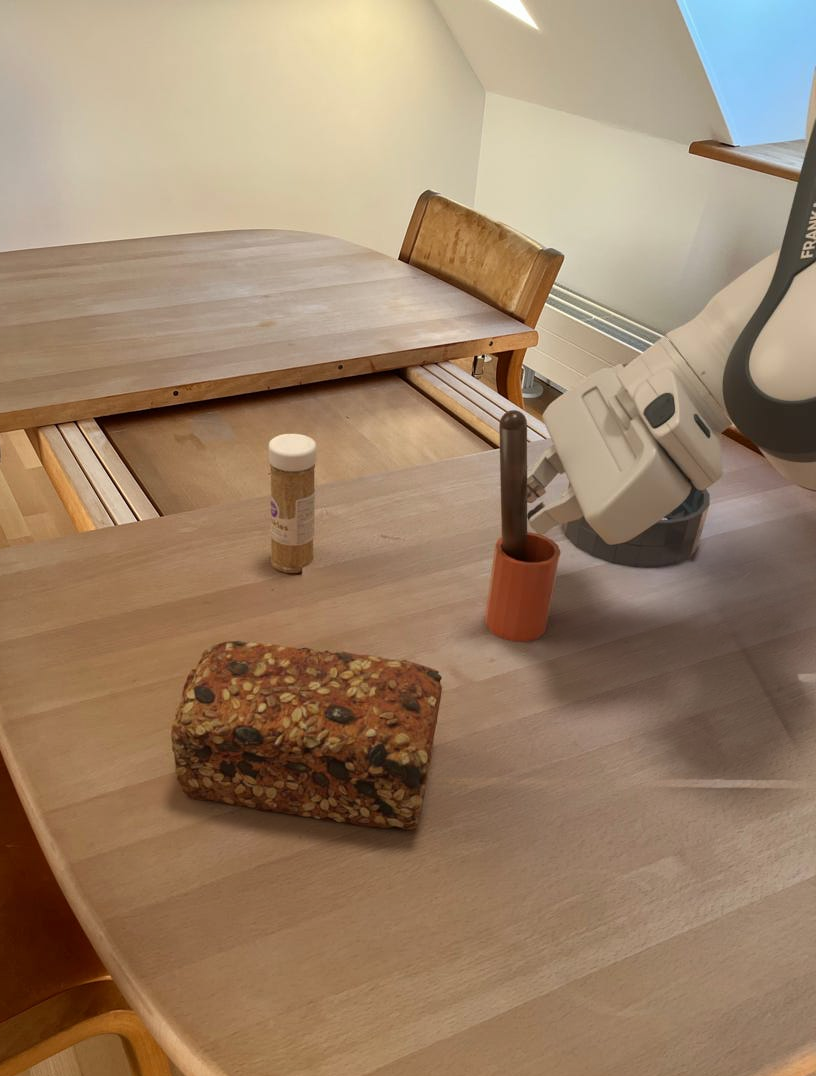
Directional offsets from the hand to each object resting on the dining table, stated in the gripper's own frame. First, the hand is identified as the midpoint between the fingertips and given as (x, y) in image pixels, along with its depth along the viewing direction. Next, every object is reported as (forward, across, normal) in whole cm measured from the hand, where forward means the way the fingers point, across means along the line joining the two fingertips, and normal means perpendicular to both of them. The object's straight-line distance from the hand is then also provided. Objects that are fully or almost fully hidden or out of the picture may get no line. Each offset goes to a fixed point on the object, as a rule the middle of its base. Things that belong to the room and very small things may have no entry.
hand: (527, 509), depth 83 cm
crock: (+9, 0, +10) cm, 13 cm away
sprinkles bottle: (+24, -11, -5) cm, 27 cm away
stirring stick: (+8, 0, +9) cm, 12 cm away
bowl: (-2, -17, +20) cm, 26 cm away
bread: (+22, +19, -4) cm, 29 cm away
